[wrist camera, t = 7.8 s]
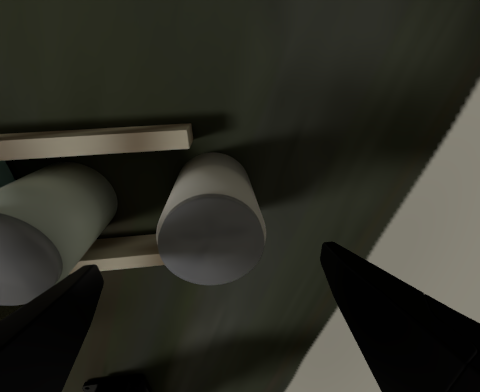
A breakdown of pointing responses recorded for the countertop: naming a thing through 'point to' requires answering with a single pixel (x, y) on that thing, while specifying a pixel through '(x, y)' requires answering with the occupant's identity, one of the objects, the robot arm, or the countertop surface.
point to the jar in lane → (49, 226)
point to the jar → (211, 222)
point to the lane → (94, 143)
